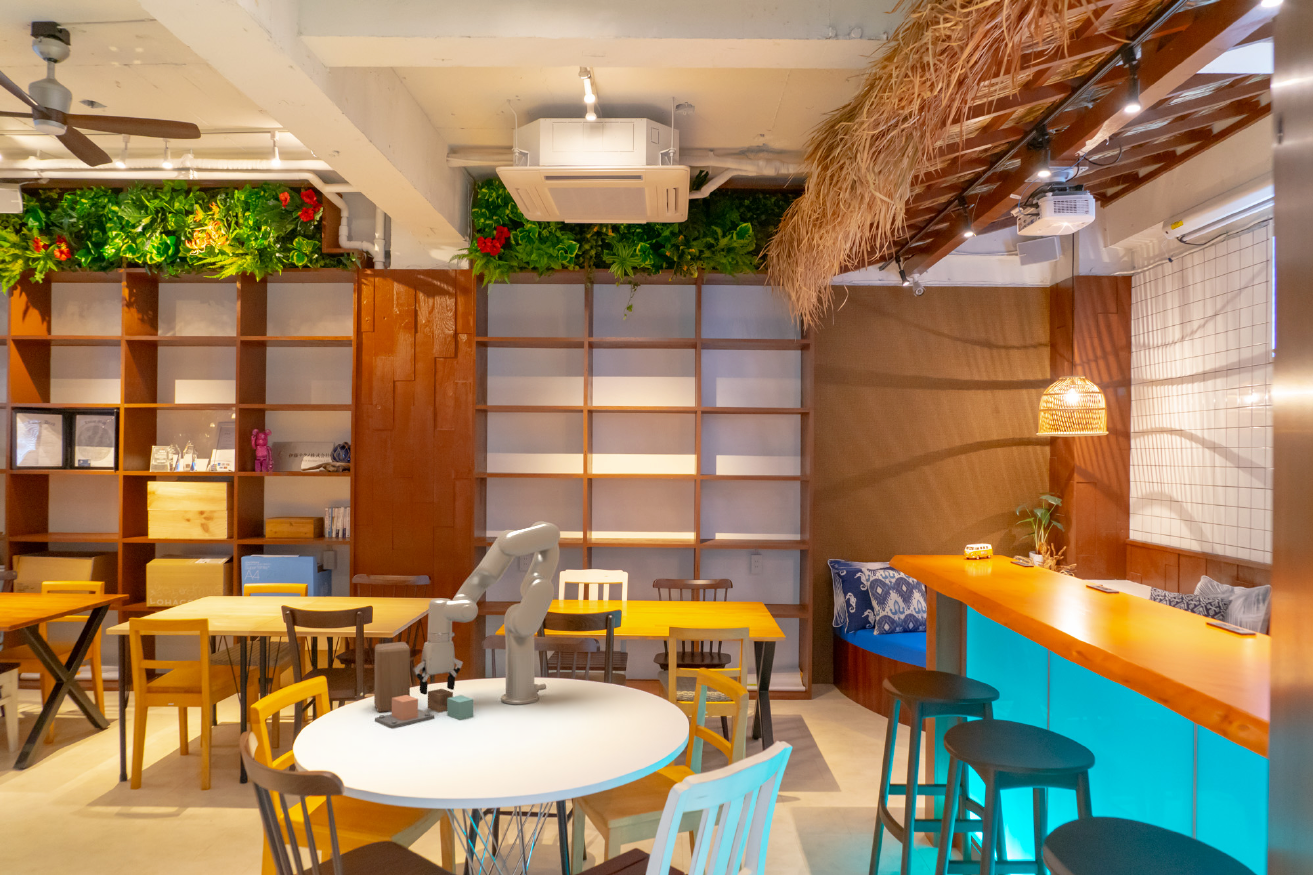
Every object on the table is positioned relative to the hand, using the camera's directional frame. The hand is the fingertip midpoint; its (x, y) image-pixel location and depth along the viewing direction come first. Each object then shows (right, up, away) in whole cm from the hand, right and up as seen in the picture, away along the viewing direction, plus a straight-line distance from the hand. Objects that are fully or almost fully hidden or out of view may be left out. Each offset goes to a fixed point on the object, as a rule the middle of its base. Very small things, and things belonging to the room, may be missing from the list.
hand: (437, 691), depth 266 cm
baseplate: (-7, -5, -12) cm, 15 cm away
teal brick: (+9, -5, -8) cm, 14 cm away
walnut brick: (+1, -6, 0) cm, 6 cm away
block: (-15, -6, +2) cm, 17 cm away
